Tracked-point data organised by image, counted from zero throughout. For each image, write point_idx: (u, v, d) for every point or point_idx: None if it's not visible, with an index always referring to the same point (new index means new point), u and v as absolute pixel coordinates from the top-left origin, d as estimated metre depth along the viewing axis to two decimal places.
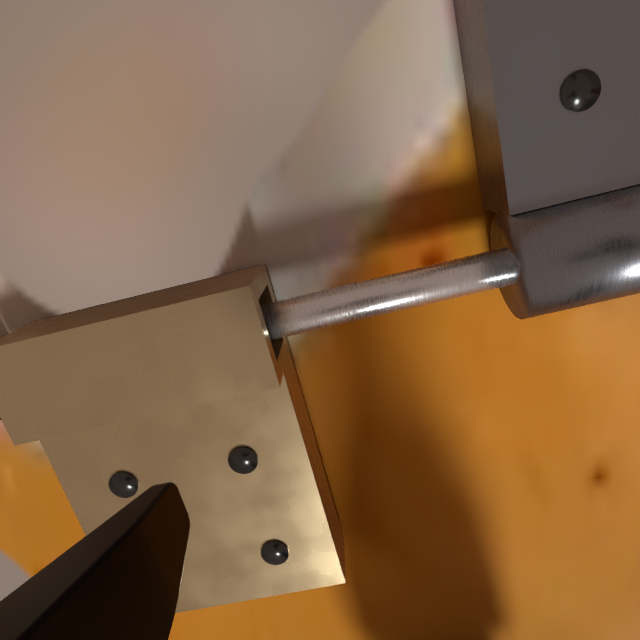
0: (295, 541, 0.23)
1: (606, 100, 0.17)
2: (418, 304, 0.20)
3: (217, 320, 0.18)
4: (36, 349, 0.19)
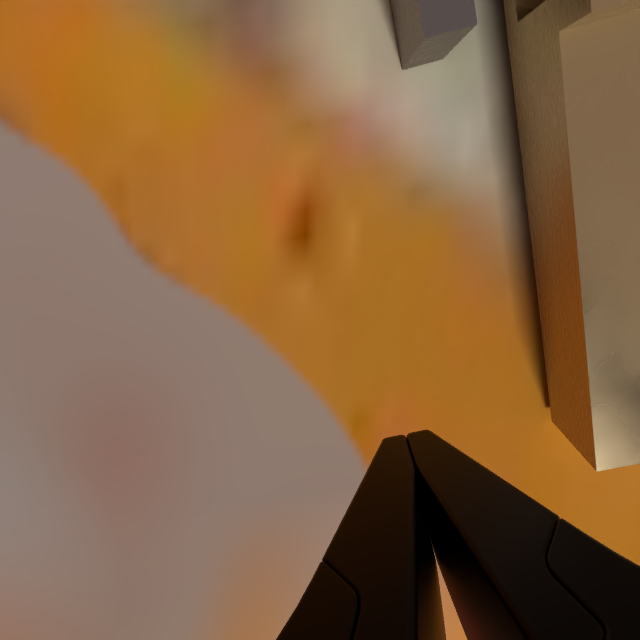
0: None
1: None
2: None
3: None
4: None
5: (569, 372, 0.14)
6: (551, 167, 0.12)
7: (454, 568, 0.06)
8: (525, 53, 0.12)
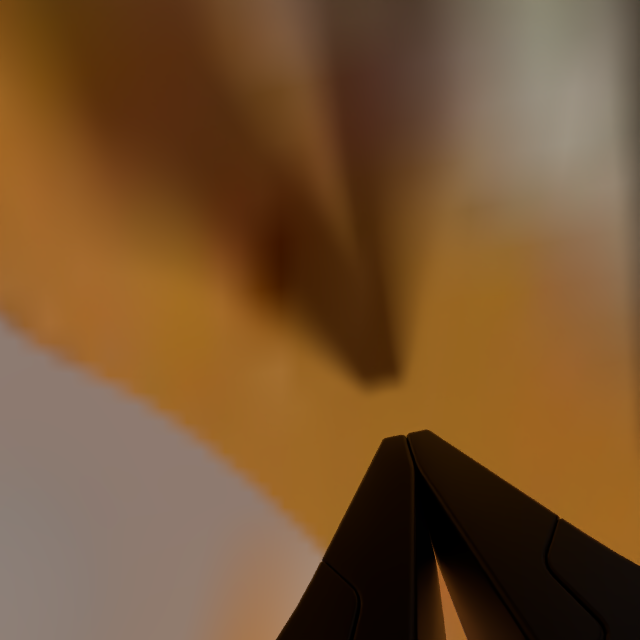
0: None
1: None
2: None
3: None
4: None
5: None
6: None
7: (454, 568, 0.06)
8: None
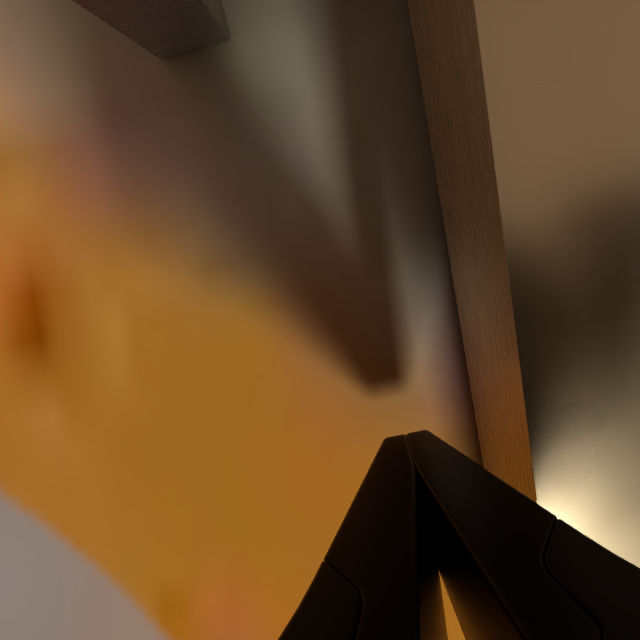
0: None
1: None
2: None
3: None
4: None
5: None
6: (477, 234, 0.06)
7: (452, 568, 0.06)
8: (425, 4, 0.06)
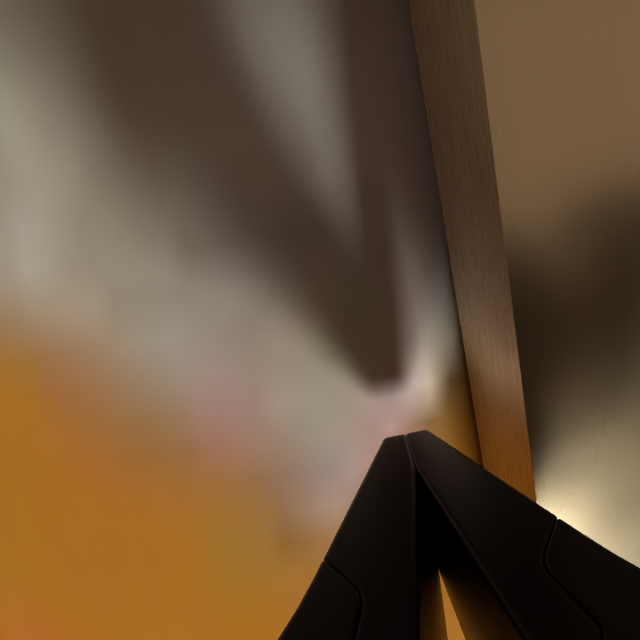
0: None
1: None
2: None
3: None
4: None
5: None
6: (477, 236, 0.06)
7: (452, 568, 0.06)
8: (426, 6, 0.06)
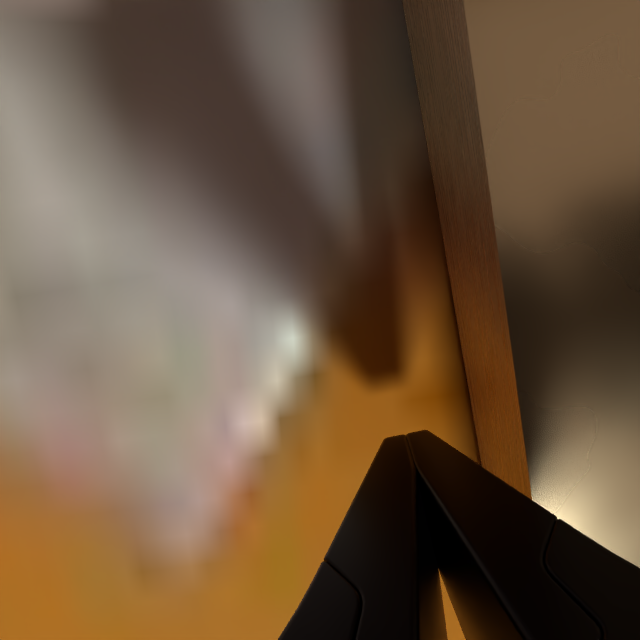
0: None
1: None
2: None
3: None
4: None
5: None
6: (472, 242, 0.06)
7: (452, 568, 0.06)
8: (421, 18, 0.06)
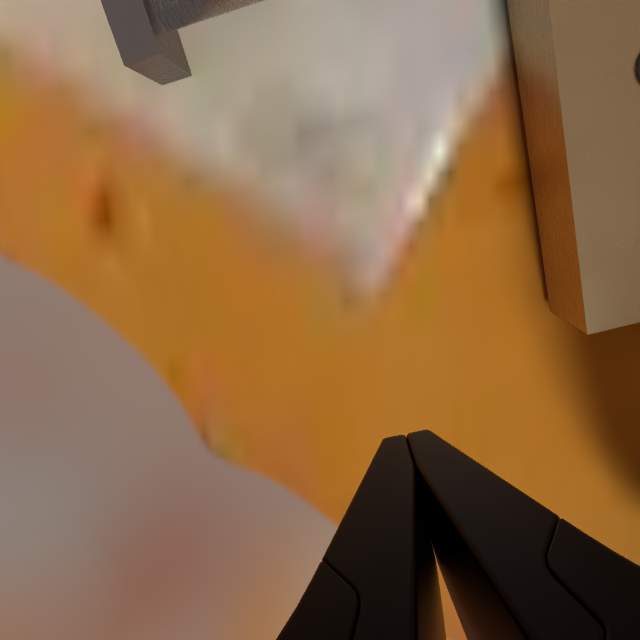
0: None
1: None
2: None
3: None
4: None
5: (562, 254, 0.17)
6: (541, 73, 0.15)
7: (454, 568, 0.06)
8: None
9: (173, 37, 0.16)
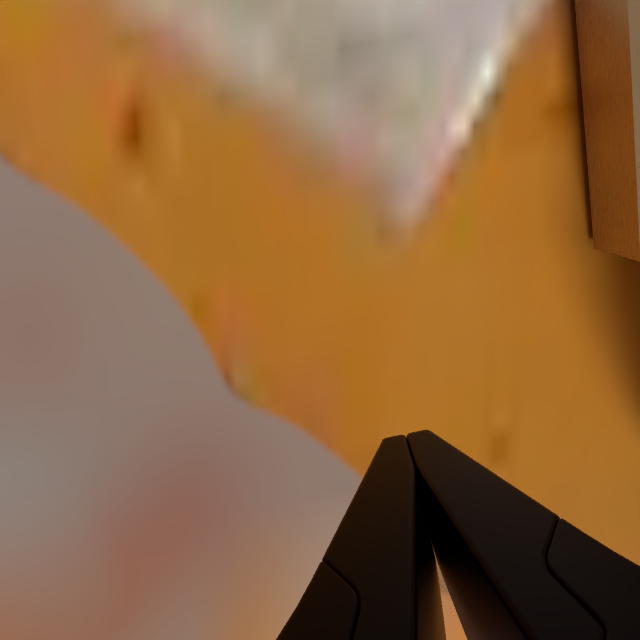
0: None
1: None
2: None
3: None
4: None
5: (615, 178, 0.16)
6: None
7: (454, 568, 0.06)
8: None
9: None
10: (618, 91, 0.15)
